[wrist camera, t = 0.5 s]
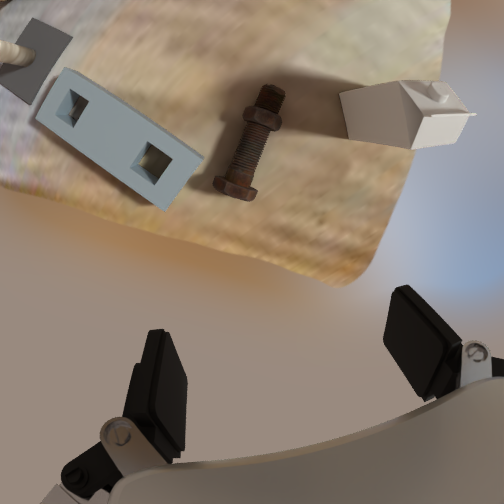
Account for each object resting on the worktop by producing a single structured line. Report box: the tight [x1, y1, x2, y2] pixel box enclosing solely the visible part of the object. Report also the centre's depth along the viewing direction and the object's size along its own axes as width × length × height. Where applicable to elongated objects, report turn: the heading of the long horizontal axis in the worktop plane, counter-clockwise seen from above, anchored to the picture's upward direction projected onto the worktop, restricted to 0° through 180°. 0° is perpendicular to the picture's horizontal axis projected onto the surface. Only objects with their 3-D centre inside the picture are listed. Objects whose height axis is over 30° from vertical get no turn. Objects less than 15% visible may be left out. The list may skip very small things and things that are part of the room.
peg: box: [0, 40, 36, 67], centre depth 19 cm, size 3×3×10 cm
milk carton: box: [339, 80, 477, 150], centre depth 27 cm, size 7×7×19 cm
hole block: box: [35, 67, 204, 212], centre depth 31 cm, size 24×8×4 cm, turn 51°
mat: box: [0, 18, 73, 105], centre depth 24 cm, size 12×12×1 cm
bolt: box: [213, 84, 285, 202], centre depth 34 cm, size 6×5×15 cm
